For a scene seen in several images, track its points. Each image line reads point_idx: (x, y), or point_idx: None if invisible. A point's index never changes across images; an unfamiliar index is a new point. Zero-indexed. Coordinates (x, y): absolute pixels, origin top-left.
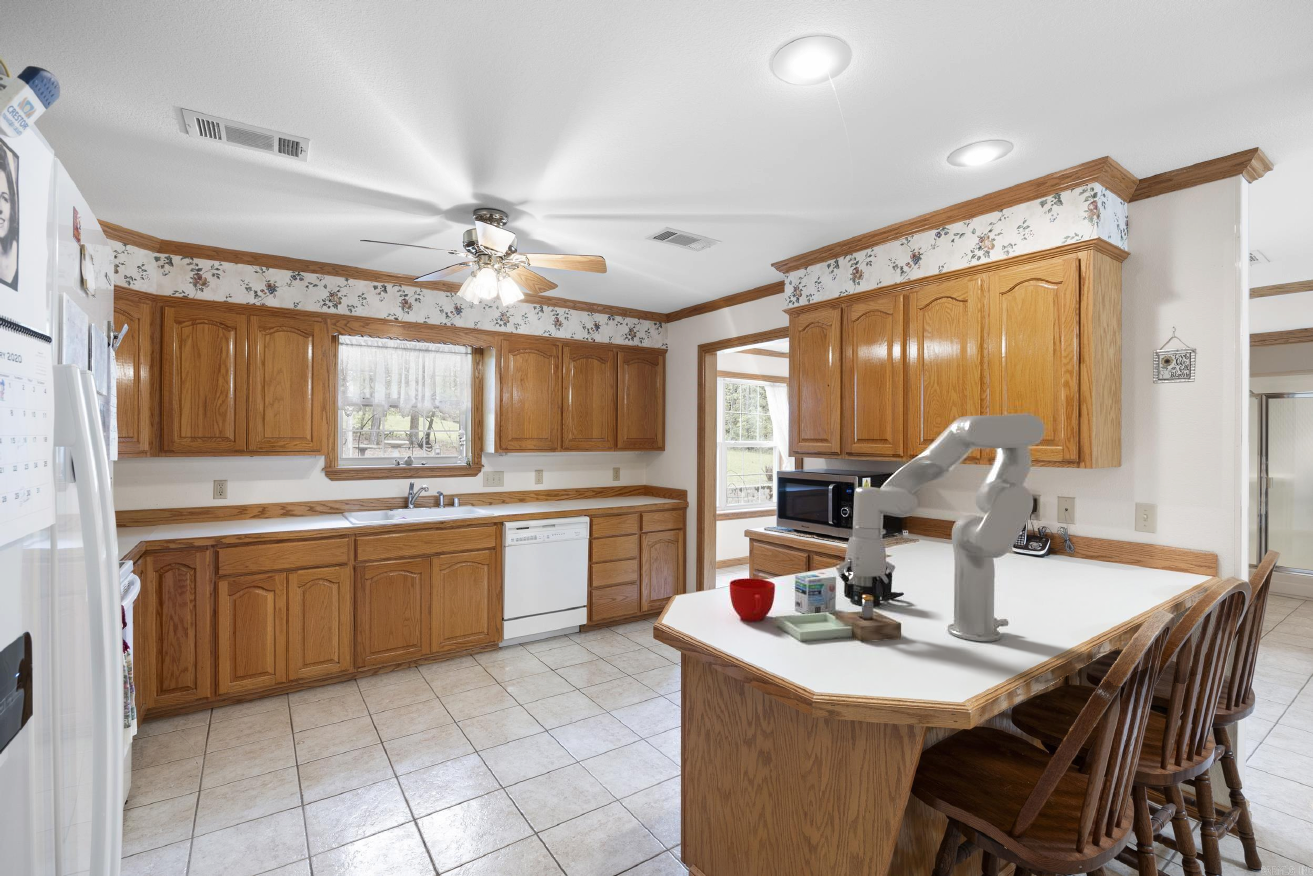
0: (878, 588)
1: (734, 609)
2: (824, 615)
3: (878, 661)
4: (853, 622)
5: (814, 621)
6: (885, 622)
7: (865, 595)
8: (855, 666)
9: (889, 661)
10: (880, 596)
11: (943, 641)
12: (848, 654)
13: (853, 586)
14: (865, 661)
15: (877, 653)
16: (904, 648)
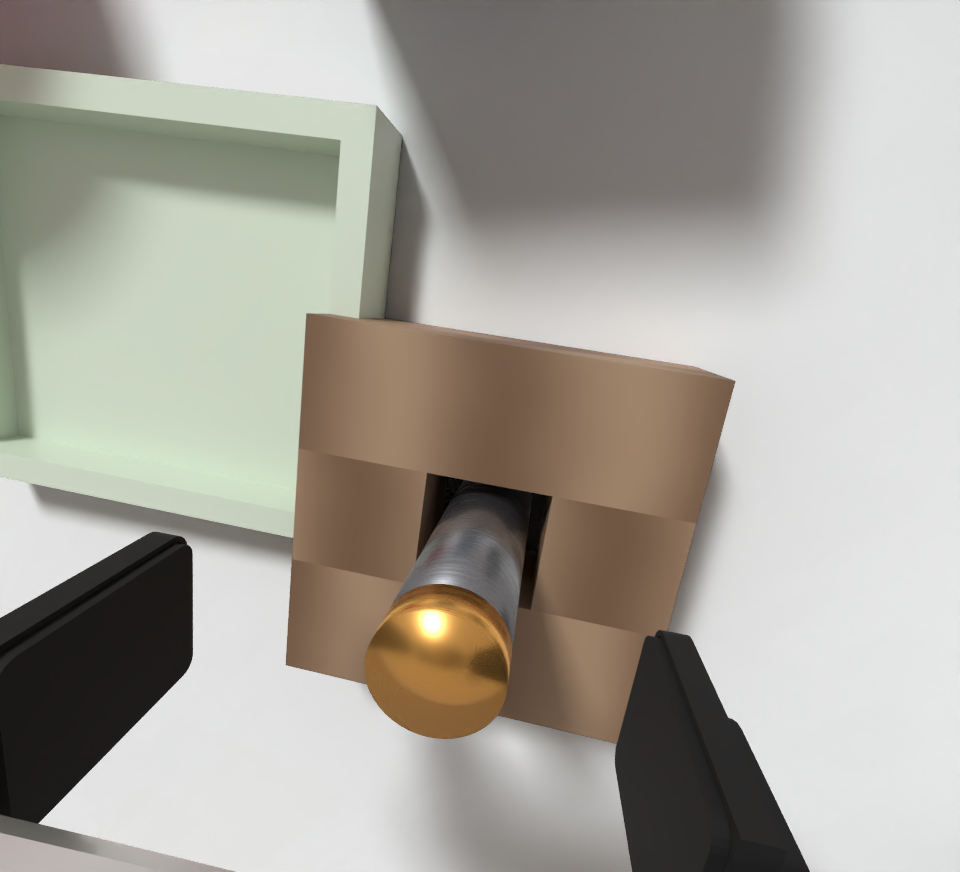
0: (661, 768)
1: None
2: (334, 144)
3: (246, 810)
4: (293, 577)
5: (261, 153)
6: (528, 685)
7: (415, 656)
8: (118, 797)
9: (293, 833)
10: (624, 724)
11: (827, 812)
12: (166, 693)
13: (37, 816)
14: (190, 783)
15: (308, 749)
16: (497, 771)
